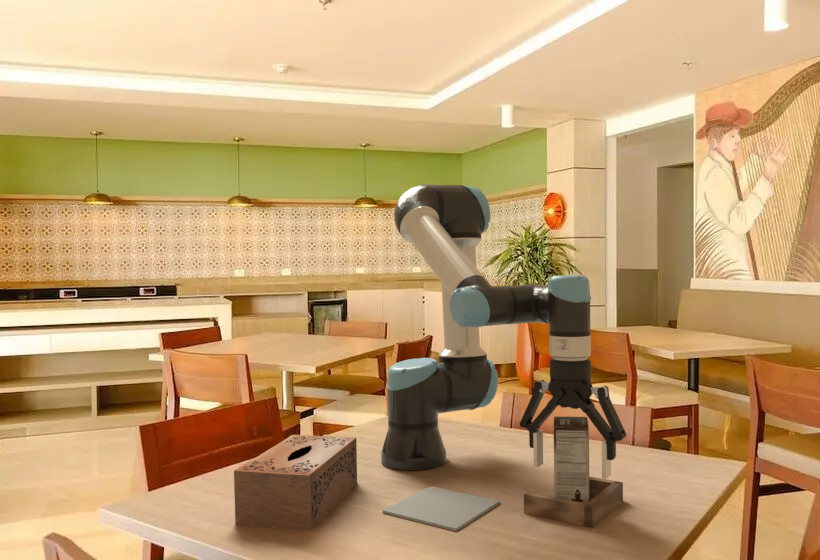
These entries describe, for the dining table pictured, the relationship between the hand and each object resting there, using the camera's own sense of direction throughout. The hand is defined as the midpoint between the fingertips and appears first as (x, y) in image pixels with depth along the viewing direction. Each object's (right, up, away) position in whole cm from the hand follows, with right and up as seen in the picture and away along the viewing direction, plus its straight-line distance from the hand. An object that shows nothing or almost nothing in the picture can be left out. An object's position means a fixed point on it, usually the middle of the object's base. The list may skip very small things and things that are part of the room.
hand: (571, 471), depth 129 cm
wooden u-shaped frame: (0, -7, 0) cm, 7 cm away
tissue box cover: (-52, -8, +5) cm, 52 cm away
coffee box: (0, -7, 0) cm, 7 cm away
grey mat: (-24, -7, 0) cm, 25 cm away
